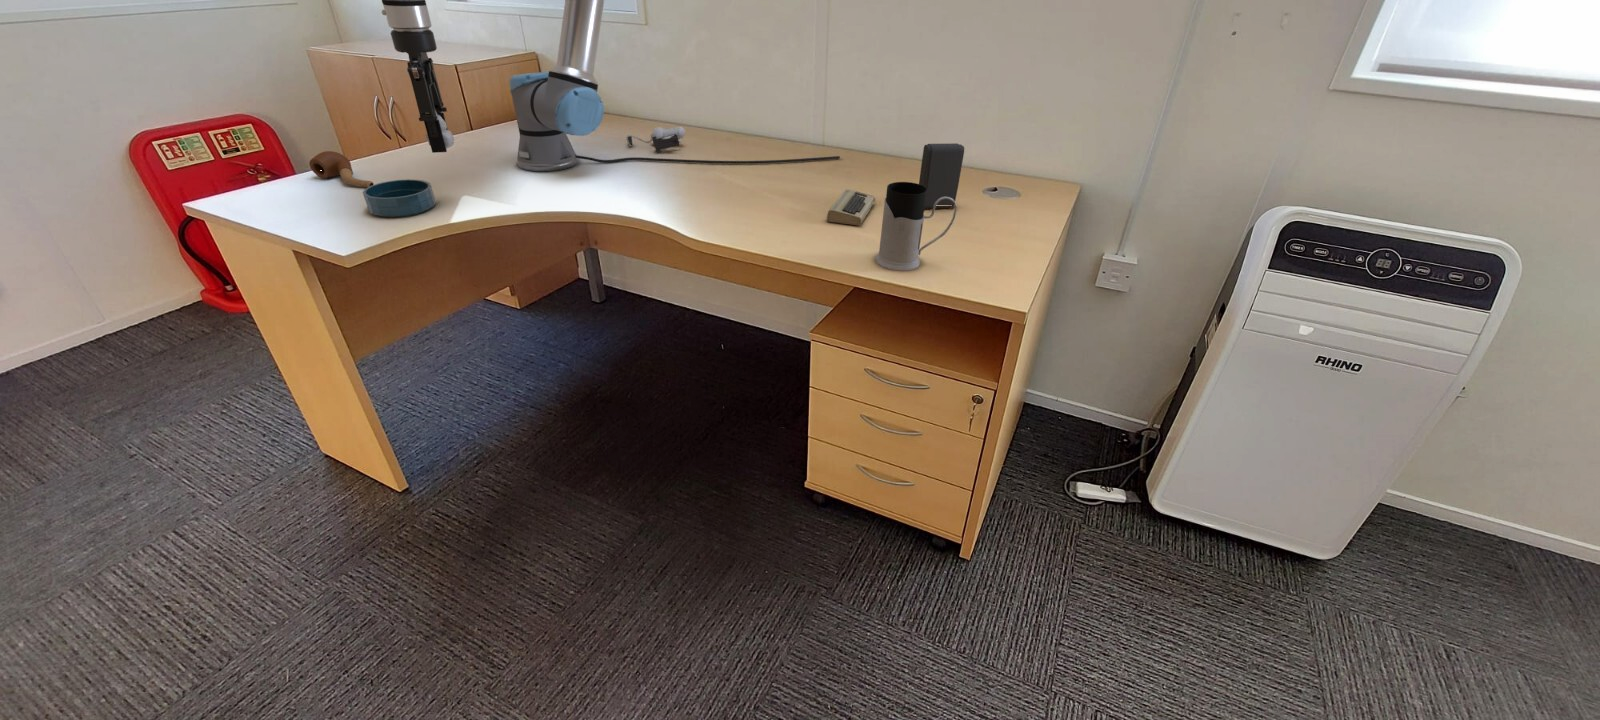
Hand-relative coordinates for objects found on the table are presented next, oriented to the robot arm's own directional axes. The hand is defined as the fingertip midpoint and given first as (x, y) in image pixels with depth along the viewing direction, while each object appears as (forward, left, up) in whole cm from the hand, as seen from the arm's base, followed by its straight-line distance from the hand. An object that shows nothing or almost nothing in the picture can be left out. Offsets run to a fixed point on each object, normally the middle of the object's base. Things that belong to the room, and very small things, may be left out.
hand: (441, 147), depth 140 cm
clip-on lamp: (-49, -42, -13) cm, 66 cm away
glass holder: (-90, +52, -13) cm, 105 cm away
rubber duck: (0, 0, 0) cm, 0 cm away
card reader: (-110, +23, -13) cm, 113 cm away
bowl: (+11, 0, -13) cm, 17 cm away
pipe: (+27, -24, -13) cm, 39 cm away
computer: (-88, +23, -13) cm, 92 cm away
